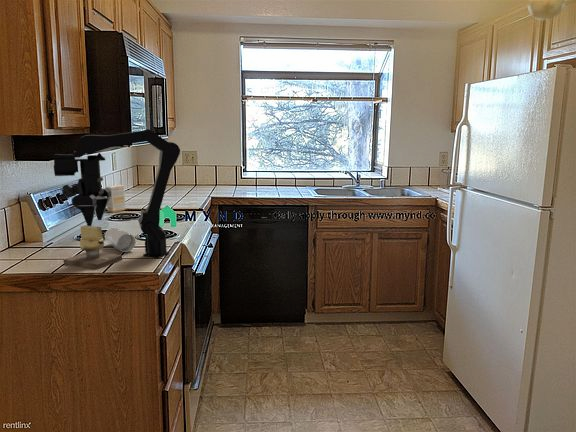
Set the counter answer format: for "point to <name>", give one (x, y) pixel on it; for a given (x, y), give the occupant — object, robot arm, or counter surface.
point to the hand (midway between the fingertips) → (94, 222)
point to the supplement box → (116, 199)
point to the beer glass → (120, 239)
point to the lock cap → (91, 238)
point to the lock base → (93, 259)
